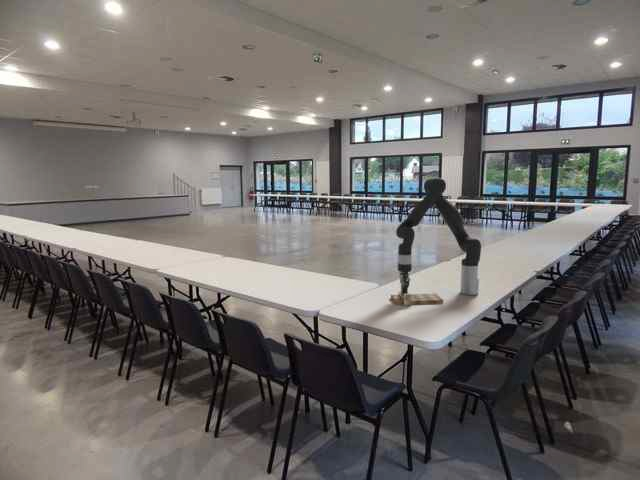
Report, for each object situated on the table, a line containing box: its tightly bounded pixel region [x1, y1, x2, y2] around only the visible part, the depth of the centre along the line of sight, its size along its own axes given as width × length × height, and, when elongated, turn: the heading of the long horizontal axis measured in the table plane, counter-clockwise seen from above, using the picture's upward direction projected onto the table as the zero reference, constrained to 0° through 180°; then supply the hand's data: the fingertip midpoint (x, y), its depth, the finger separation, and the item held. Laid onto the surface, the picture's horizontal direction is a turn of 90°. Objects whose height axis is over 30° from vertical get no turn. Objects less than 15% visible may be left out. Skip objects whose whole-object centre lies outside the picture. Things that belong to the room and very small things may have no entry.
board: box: [390, 293, 444, 306], centre depth 227 cm, size 26×12×2 cm, turn 93°
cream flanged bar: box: [397, 283, 413, 306], centre depth 225 cm, size 4×15×10 cm, turn 3°
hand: (404, 292), depth 226 cm, fingers closed on cream flanged bar, 3 cm apart
